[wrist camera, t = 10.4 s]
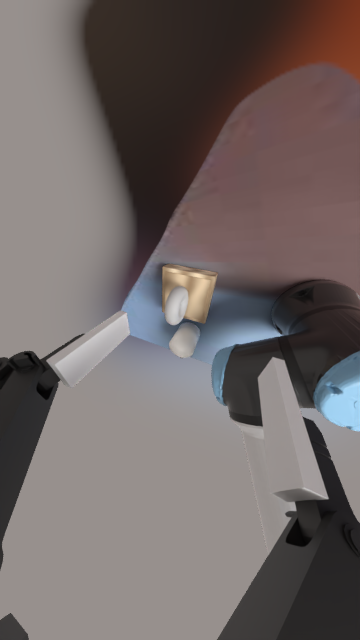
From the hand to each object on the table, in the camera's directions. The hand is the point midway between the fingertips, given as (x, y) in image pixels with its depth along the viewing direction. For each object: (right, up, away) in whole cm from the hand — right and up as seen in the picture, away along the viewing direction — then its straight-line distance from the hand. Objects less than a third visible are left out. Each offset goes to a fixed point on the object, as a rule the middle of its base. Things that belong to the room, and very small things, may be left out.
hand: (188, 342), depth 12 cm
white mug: (+3, -3, +38) cm, 38 cm away
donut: (0, +8, +26) cm, 27 cm away
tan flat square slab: (+2, +11, +29) cm, 31 cm away
